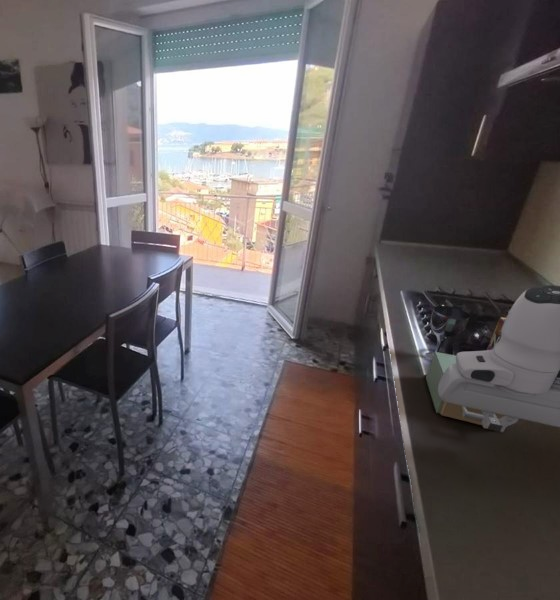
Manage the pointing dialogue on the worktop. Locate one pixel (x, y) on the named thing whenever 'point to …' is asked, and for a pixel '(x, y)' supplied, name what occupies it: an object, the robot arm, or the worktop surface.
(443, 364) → the cabinet
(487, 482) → the worktop surface
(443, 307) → the wine glass
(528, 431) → the worktop surface
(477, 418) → the drawer
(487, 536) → the worktop surface
